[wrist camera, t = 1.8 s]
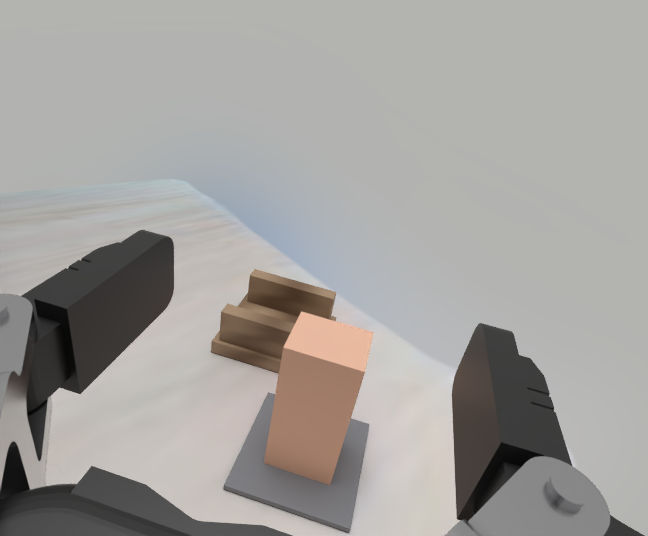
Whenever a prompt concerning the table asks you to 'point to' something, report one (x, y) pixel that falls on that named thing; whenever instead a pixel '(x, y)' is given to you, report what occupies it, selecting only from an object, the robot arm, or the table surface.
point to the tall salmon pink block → (316, 395)
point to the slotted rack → (268, 318)
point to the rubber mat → (299, 476)
